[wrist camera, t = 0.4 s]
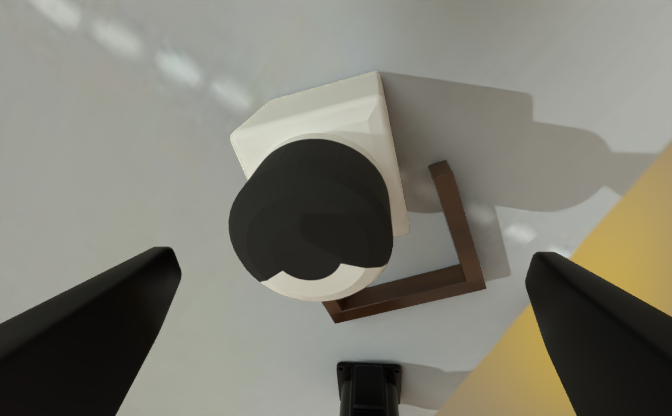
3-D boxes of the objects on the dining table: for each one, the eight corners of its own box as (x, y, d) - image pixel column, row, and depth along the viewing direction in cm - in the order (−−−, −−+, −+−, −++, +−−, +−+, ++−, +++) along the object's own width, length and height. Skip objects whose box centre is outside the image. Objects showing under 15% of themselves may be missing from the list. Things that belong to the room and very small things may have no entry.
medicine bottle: (267, 99, 21) (166, 183, 10) (379, 68, 19) (389, 130, 9) (303, 196, 24) (252, 332, 14) (400, 176, 23) (425, 312, 12)
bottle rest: (479, 271, 26) (486, 289, 24) (336, 306, 29) (334, 324, 28) (446, 159, 22) (452, 172, 20) (283, 215, 25) (277, 230, 23)
